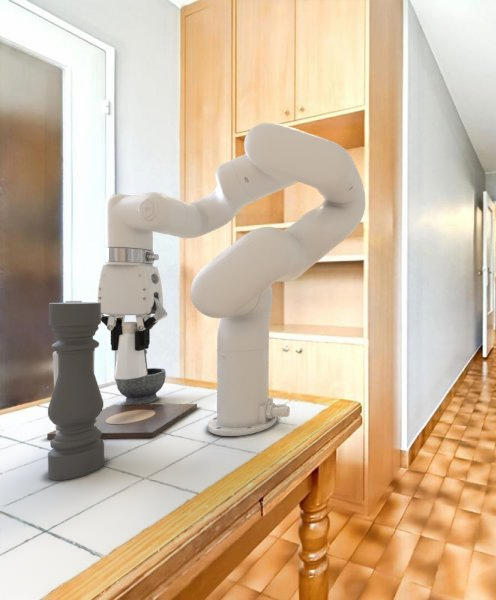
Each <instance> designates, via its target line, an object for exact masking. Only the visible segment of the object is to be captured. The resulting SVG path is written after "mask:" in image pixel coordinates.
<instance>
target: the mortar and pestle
mask: <svg viewBox="0 0 496 600" xmlns="http://www.w3.org/2000/svg"><path fill="white" fill-rule="evenodd" d="M147 354H148V349H144V355H145V363H146V371H147V375H146V376H143V377H140V378H133V379H116V378H115V380H116V381H115V384H116V388H117V390H118V391H119V393H120V394H121V395H123V396H124V397H125V404H151V403H153V402H155V401H157V400H158V396H157V393H158V392H159V391H160V390H161V389H162V388H163V386H164V384H165V381H166V377H167V375H166V370H165V368H158V367H148V361H147V360H148V359H147Z"/></svg>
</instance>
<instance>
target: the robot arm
mask: <svg viewBox="0 0 496 600" xmlns="http://www.w3.org/2000/svg"><path fill="white" fill-rule="evenodd" d="M243 149H244V152H245V153H244V154H241V155H239V156H236V157H235V158H233V159H231V160H228V161H226V162H223V163H221V164H219V165H218V166H217V167H216V169H215V179H216V183H217V186H216V188H214V190H213V191H212V192H210V193H209V194H208V195H206V196H204V197H202V198H199V199H197V200H195V201H192V202H190V203H189V202H186V201H183V200H181V199H178V198H176V197H174V196H173V197H172V196H170V195H168V194H165V193H161V192H156V191H155V192H153V191H152V192H151V191H150V192H144V193H138V194H132V195H130V194H124V193H123V194H122V193H121V194H120V193H116V194H111V195H108V196H107V197H106V199H105V205H104V206H105V208H104V211H105V213H104V215H105V217H104V218H105V222H104V223H105V264H102V267H101V270H100V274H99V280H98V286H97V287H98V288H97V303H101V323H103V325H104V326H106V329H107V331H110V347H111V348H110V349H111V351H116V352H117V350H118V342H119V335H122V334H123V333H122V332H123V327H122V323H124V322H125V317H126V316H135V320H136V321H135V322H137V326H138V331H135V350H136V351H141V350H144V349H145V350H148V349H150V348H149V347H150V343H151V333H150V332H151V330H152V329H153V328H154V326H155V325H156V324H157V323H158V322H160V321H161V320H163V319H165V318H166V317H168V312H167V311H166V309H165V308H164V297H163V287H162V281H161V280H162V279H161V276H160V273H159V268H158V266H154V263H155V261H159V259H160V256H159V254H158V253H154V248H153V247H154V233H158V234H163V235H168V236H172V237H177V238H181V239H195V238H198V237H201V236H204V235H207V234H208V233H209V234H210V233H212V232H214V231H216V230H218V229H220V228H223V227H224V226H226V225H227V224H228V223H230V222H231V221H232V220H233V219H234V218H235V217H236V216H237V215H238V214H239V213H240V212H241V210H242V209H243V208H244V207H246V206H249V205H251V204H253V203H254V202H257V201H259V200H261V199H264V198H266V197H268V196H270V195H274V194H275V193H278V192H280V191H282V190H284V189H287V188H289V187H291V186H293V185H295V184H297V183H302V184H304V185H307V186H310V187H311V188H314V189H316V190H317V191H318V192H319V193H320V195H322V197H323V202H322V203H320V205H319V206H317V207H314V208H313V209H311V210H309V211H308V212H306V213H304V214H303V215H302V216H301V217H300V218H299V219H298V220H296V221H295V222H294V223H292V224H291V225H289V226H288V227H286V228H285V229H282V228H278V227H273V226H262V227H261V226H260V227H258V228H255V229H252V230H250V231H249V232H247V233H245V234H243V235H242V236H241V237H240V238H238V239H237V240H236V241H234V242H233V243H232V244H231V245H230V246H228V247H227V248H226V249H224V251H222V252H221V253H220V254H218V255H217V256H216V257H215V258H213V259H212V260H211V261H209V262H208V263H207V264H206V265H205V266H203V267H202V268H201V269H200V271H198V272H197V274H196V275H195V277H194V278H193V280H192V283H191V285H190V289H189V290H190V291H189V295H190V300H191V303H192V304H193V307H194V308H195V309H196V310H197V311H198V312H199V313H201V314H202V315H204V316H206V317H209V318H213V319H219V324H218V329H217V339H216V415H215V416H214V417H212V418H211V419H210V420H209V421H208V422H207V430H208V431H209V433H211V434H213V435H216V436H221V437H239V436H246V435H252V434H256V433H259V432H261V431H265V430H267V429H269V428H270V427H272V426H274V424H276V422H277V417H279V418H288V417H289V416H290V408H291V407H290V406H287V404H286V403H280V404H276V403H275V402H274V397H271V396H269V395H270V394H269V391H270V390H269V387H270V385H269V384H270V381H269V380H270V373H269V372H270V369H269V368H270V325H271V324H270V323H271V315H272V310H273V309H272V307H273V302H274V301H273V300H274V293H273V288H272V285H273V284H275V283H276V282H281V283H282V282H283V283H284V282H286V283H287V282H291V281H295V280H297V279H298V278H300V277H301V276H302V275H303V274H305V273H306V272H307V271H309V269H310V268H312V267H313V266H314V265H316V263H318V262H319V261H321V259H323V258H324V257H325V256H326V255H328V254H329V253H330V252H331V251H332V250H334V249H335V247H337V246H339V245H340V244H341V243H342V242H343V241H344V240H346V239H348V238H349V236H351V235H352V233H353V232H354V231H356V229H357V228H358V226H359V225H360V224H361V222H362V220H363V217H364V214H365V211H366V192H365V188H364V184H363V180H362V177H361V175H360V172H359V170H358V168H357V166H356V163H355V161H354V159H353V157H352V155H351V154H350V153H349V151H348V150H347V148H344V147H343V146H342V145H340V144H339V143H337V142H335V141H332V140H330V139H327V138H325V137H321V136H319V135H315V134H312V133H308V132H306V131H303V130H300V129H297V128H294V127H291V126H289V125H285V124H282V123H277V122H271V121H270V122H268V121H267V122H262V123H261V122H260V123H258V124H256V125H254V126H253V127H251V128H250V130H248V132H247V133H246V134H245V137H244V141H243Z"/></svg>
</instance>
